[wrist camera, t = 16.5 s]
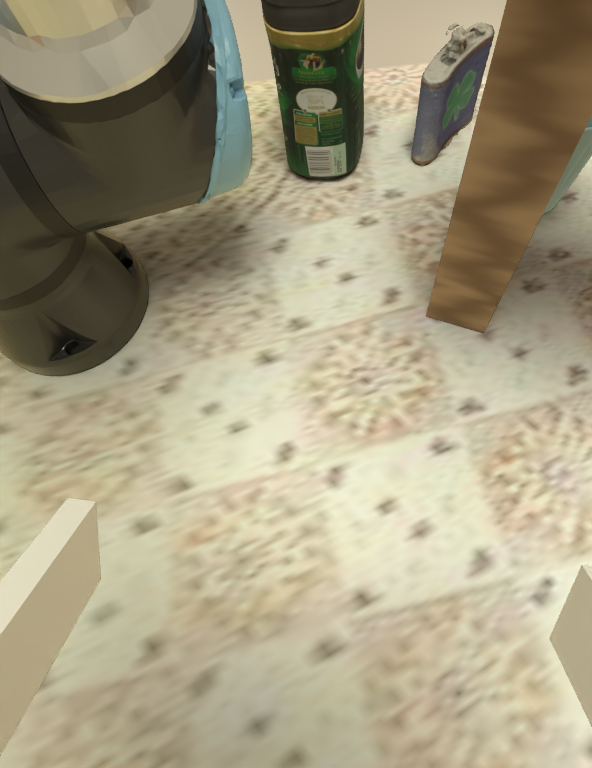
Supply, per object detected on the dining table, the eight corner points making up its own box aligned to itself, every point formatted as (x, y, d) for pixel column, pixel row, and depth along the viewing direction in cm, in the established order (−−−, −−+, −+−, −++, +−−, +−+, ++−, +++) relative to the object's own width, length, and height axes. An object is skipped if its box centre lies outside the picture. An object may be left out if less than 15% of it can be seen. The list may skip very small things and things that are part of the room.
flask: (425, 170, 49) (442, 66, 40) (402, 157, 50) (412, 53, 41) (478, 115, 51) (507, 3, 42) (454, 104, 52) (477, -7, 43)
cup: (500, 155, 49) (535, 50, 39) (580, 174, 47) (638, 69, 37) (476, 212, 47) (507, 116, 37) (559, 234, 45) (614, 139, 35)
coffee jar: (295, 116, 54) (267, -99, 37) (367, 116, 53) (371, -106, 36) (281, 183, 51) (243, -21, 34) (357, 185, 50) (357, -25, 33)
